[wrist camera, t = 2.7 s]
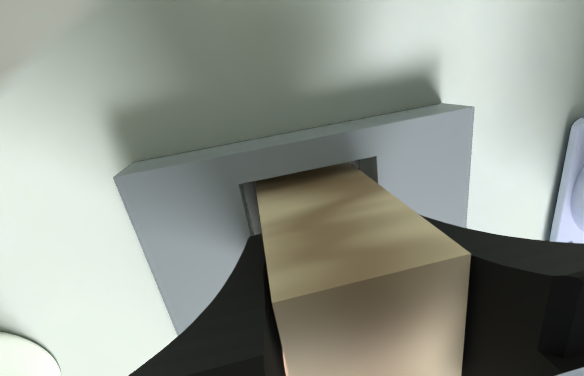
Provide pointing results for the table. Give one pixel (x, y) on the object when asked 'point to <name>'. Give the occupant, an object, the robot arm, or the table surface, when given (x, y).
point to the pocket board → (276, 162)
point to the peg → (360, 278)
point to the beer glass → (25, 358)
